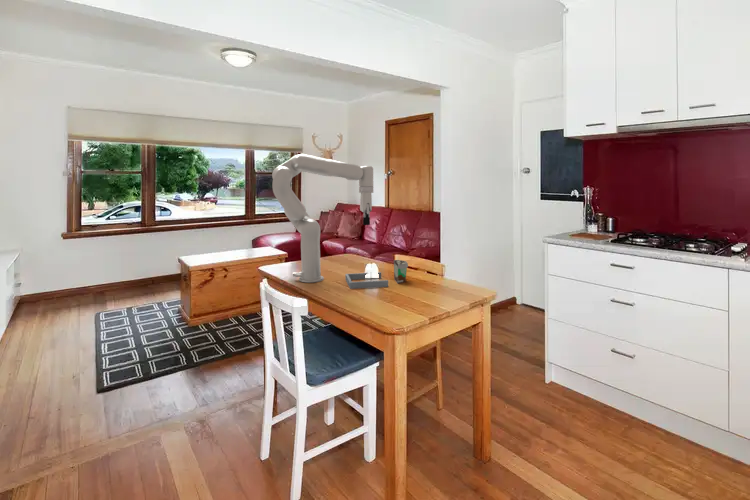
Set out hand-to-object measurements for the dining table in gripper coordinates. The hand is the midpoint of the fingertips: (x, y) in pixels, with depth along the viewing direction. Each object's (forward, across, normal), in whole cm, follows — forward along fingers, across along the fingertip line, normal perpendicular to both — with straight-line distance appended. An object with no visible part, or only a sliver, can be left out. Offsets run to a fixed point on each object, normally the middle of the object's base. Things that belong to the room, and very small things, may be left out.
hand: (366, 224), depth 223 cm
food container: (+27, +18, +15) cm, 36 cm away
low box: (+27, +18, -3) cm, 33 cm away
